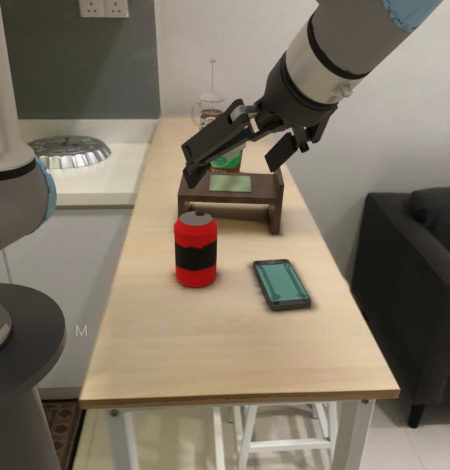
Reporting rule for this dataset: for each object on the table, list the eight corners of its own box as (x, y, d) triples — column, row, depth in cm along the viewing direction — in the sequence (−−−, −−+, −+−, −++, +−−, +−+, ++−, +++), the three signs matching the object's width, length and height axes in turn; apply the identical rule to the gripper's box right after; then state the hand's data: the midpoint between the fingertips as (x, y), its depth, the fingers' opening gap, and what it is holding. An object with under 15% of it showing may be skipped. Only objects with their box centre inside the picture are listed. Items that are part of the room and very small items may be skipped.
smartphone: (287, 257, 91) (312, 301, 79) (287, 263, 92) (311, 307, 80) (251, 260, 90) (271, 305, 78) (251, 265, 91) (270, 311, 79)
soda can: (221, 270, 89) (223, 212, 82) (208, 291, 83) (209, 231, 76) (184, 263, 91) (183, 206, 84) (169, 283, 85) (166, 223, 78)
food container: (199, 180, 126) (199, 143, 120) (200, 172, 131) (200, 136, 125) (244, 182, 126) (246, 145, 120) (244, 174, 131) (246, 138, 125)
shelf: (178, 231, 101) (176, 180, 95) (183, 204, 113) (182, 157, 106) (278, 234, 102) (284, 184, 95) (274, 207, 113) (278, 161, 106)
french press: (223, 148, 149) (225, 61, 134) (188, 145, 150) (186, 59, 136) (228, 139, 157) (231, 56, 142) (195, 136, 158) (194, 54, 144)
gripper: (222, 122, 41) (159, 213, 60) (412, 96, 52) (308, 180, 71) (193, 46, 42) (139, 160, 61) (387, 36, 53) (290, 136, 72)
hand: (230, 171), depth 66 cm, fingers open, 13 cm apart
